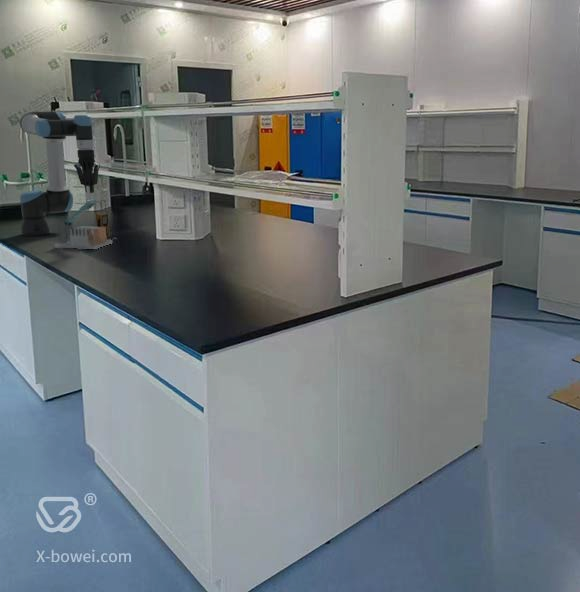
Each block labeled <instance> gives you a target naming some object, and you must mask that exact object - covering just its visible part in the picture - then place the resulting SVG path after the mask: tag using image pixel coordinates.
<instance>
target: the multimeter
mask: <svg viewBox="0 0 580 592" xmlns="http://www.w3.org/2000/svg"><path fill="white" fill-rule="evenodd" d="M96 201H97V203H99V204H100V206H102V205H103V204H102V201H104V205H105V208H107V205H106V204H107V203H106V201H105V200H104V199H102V201H98V200H96ZM97 203H96V204H95V205H94V210H95V211H94V212H97ZM103 209H104V208H100V213H96V214H95V218H96V219H95V220H96V227H106V237H107V240H111V238H110V237H112V239H113V240H117V238H116V237H114V236H112V235H111V234H110V223H109V214H108V213H109V212H107V211H105V212H104V211H103ZM108 237H109V238H108Z"/></svg>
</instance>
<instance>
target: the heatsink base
mask: <svg viewBox="0 0 580 592" xmlns="http://www.w3.org/2000/svg"><path fill="white" fill-rule="evenodd" d="M65 222H66V221H59V231H60V240H61V242H57V243H54V249H63V248H77V249H76V250H82V249H94V250H93V251H96V250H95V249H97V250H99V249H101V248H100V247H102V248H104V247H103V246H105V247H107V246H106V245H108V246H110V245H109V244H111V245H113V244H114V243H113V239H112V240H107V239H108V238H107V237H106V227H97V226H94V225H93V226H90V225H89V226H87V225H82V226H78V227H74V225H73V222H72V223H71V224H70V225H69V226H65ZM66 227H67V231H66ZM67 234H68V236H67ZM67 237H68V239H67ZM112 243H113V244H112ZM98 248H99V249H98Z"/></svg>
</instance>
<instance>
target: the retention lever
mask: <svg viewBox="0 0 580 592" xmlns="http://www.w3.org/2000/svg"><path fill="white" fill-rule="evenodd" d="M97 201H98V200H97V199H93V200H87V202H86V203H84V204H83V205H82V206H81V207H79V209H78V210H77V211H76V212H75V213H74V214H73V215H72V216H71V217H69V218H68V219H66V221H64V222H65V227H67V226H69V225H70V224H71V223H73V222H74V221H75V220H77V219H79V217H80V216H82V215H83V214H84V213H85V212H86V211H89V210H90V209H92V207H93V206H94V207H95V204H96V205H97V203H98V202H97Z"/></svg>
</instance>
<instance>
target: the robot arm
mask: <svg viewBox="0 0 580 592" xmlns="http://www.w3.org/2000/svg"><path fill="white" fill-rule="evenodd" d="M92 125H93V123H92V117H91V116H90V115H87V114H78V115H77V114H76V115H74V116H73V119H68V118H67V116H66V114H65V113H64V112H62V111H56V110H55V111H54V110H53V111H52V110H51V111H49V110H48V111H30V112H27V113H25V114H24V115H22V116H21V117H20V120H19V126H20V128H21V130H22V131H23V132H25V133H26V134H29V135H30V134H31V135H37V136H38V137H39V138H40V137H42V138H43V140H44V142H45V146H46V147H45V149H46V163H47V176H48V185H47V186H46V189H45V191H43V190H42V189H33V190H27V191H24V192H22V193H21V194H20V196H19V200H20V201H19V203H20V207H21V215H22V223H21V229H20V235H21V236H24V237H36V236H37V237H39V236H46V235H49V233H50V234H51V231H52V230H51V227H50V225H49V223H48V221H47V219H46V214H59V213H64V212H65V213H66V212H67V213H68V212H69V211H71V210H72V208H73V205H74V196H73V195H74V194H73V191H71V190H70V188H69V186H67V185H66V171H65V170H66V169H65V154H64V141H65V140H66V138H67V137H75V139H76V140H75V142H76V148H77V149H78V150H77V151H76V153H77V158H78V161H77V163H76V164H73V166H74V168H75V170H76V172H77V173H76V174H77V175H78V176H77V177H78V181H79V182H80V185H82V186H84V191H85V193H86V199H87V201H91V200H94V193H95V189H94V186H95V185H97V184H98V180H99V179H98V178H99V171H100V168H101V164H98V163H97V162H96V160H95V150H94V148H95V147H94V137H93V135H94V134H93V126H92ZM45 234H46V235H45Z"/></svg>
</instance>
